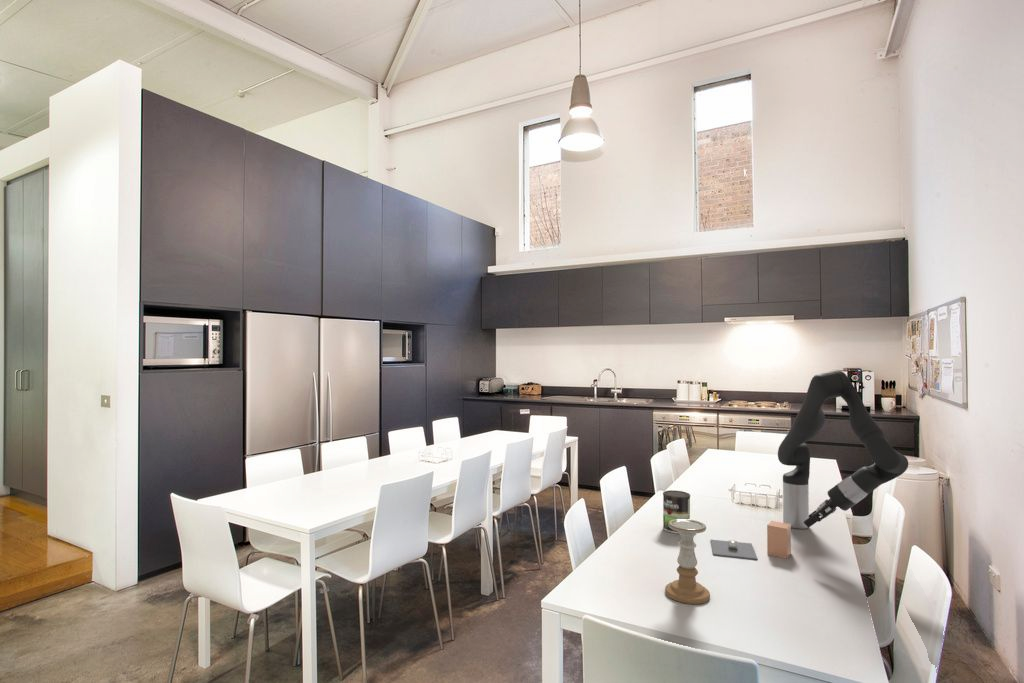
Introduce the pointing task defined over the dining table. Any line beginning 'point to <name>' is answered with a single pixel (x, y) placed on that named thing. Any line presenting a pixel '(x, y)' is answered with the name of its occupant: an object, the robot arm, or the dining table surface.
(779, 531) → the tall peach brick
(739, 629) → the dining table surface
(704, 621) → the dining table surface
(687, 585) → the candle holder
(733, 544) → the metal tin
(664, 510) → the coffee can
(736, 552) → the charcoal mat
